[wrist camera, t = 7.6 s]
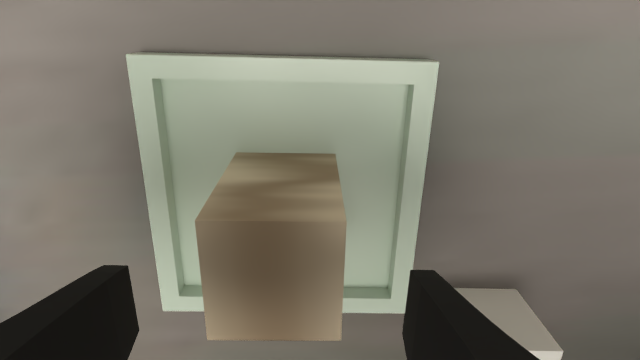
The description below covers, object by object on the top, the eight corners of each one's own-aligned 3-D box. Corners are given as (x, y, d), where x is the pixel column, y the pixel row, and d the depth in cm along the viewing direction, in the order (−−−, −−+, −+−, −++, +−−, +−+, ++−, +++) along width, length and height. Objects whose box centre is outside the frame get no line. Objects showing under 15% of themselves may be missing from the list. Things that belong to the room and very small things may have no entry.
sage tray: (430, 59, 15) (439, 62, 14) (401, 296, 19) (407, 313, 18) (139, 52, 15) (125, 54, 14) (172, 294, 19) (162, 310, 18)
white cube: (515, 288, 19) (563, 351, 16) (498, 352, 21) (539, 423, 17) (433, 286, 19) (462, 349, 15) (422, 350, 21) (446, 422, 17)
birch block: (335, 153, 16) (346, 221, 11) (332, 240, 18) (340, 340, 12) (236, 152, 16) (194, 220, 10) (241, 239, 18) (207, 340, 12)
